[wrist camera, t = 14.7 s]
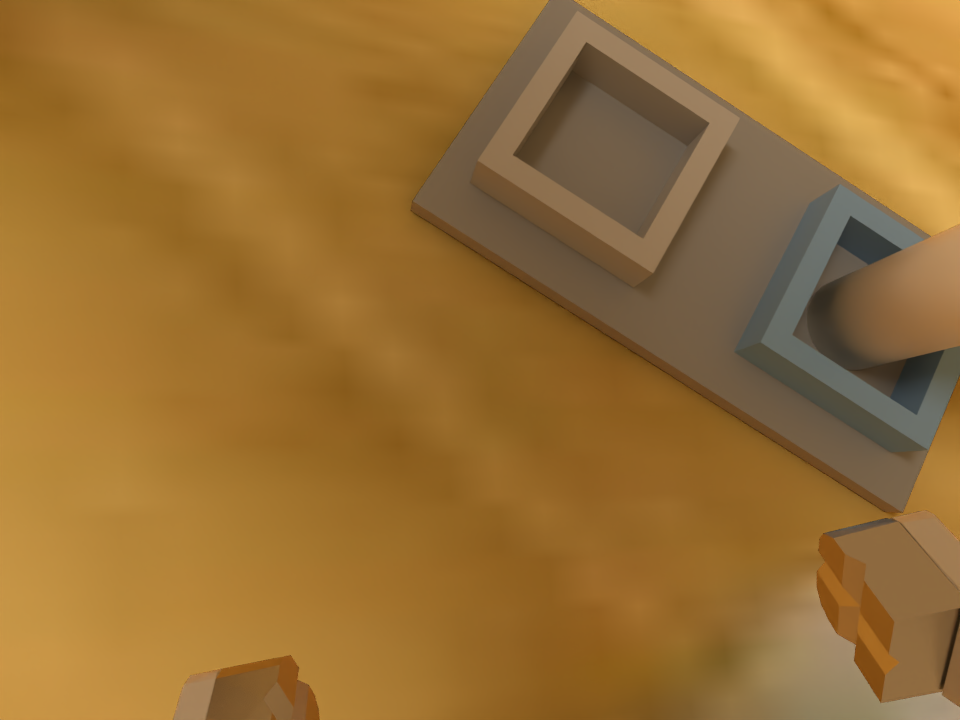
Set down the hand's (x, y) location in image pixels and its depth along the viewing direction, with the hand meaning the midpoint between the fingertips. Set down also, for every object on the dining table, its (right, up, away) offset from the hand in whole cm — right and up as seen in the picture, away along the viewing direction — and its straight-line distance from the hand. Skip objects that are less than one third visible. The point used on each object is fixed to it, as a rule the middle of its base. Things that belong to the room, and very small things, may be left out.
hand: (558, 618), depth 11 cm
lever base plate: (+9, +9, +20) cm, 24 cm away
